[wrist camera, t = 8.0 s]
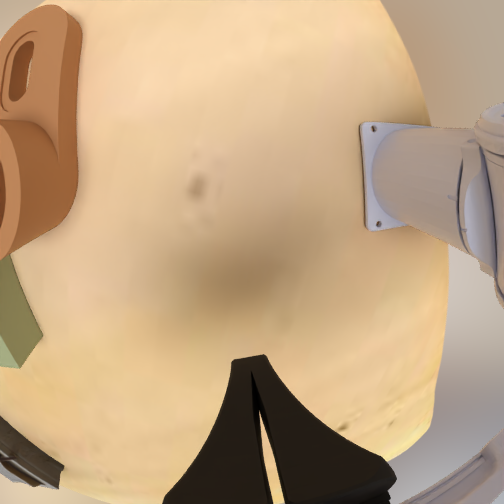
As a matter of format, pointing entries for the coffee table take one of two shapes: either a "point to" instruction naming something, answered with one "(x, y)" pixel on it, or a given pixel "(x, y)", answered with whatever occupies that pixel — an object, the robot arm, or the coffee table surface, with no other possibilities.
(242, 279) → the coffee table surface
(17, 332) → the green box with button
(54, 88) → the bracket
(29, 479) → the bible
